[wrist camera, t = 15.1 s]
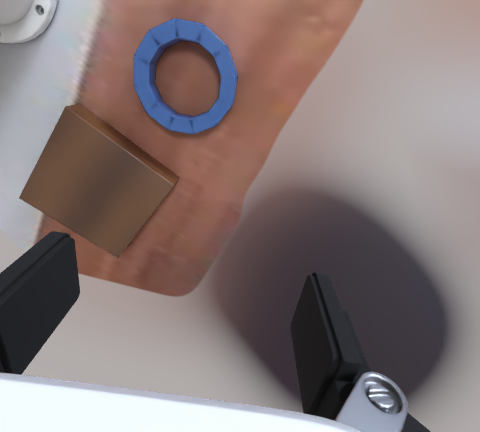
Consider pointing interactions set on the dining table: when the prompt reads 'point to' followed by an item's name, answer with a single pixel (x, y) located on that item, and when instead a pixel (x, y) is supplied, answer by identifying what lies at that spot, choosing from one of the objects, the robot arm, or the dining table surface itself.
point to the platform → (96, 181)
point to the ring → (146, 71)
